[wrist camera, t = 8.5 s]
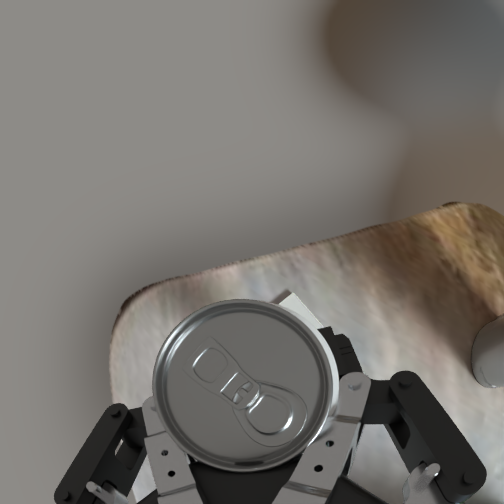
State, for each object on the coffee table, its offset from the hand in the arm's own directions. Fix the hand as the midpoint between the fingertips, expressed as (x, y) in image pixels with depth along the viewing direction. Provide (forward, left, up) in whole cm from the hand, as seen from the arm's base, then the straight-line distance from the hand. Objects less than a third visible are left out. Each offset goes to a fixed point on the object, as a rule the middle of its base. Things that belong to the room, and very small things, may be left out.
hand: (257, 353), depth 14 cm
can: (+1, +2, -6) cm, 6 cm away
